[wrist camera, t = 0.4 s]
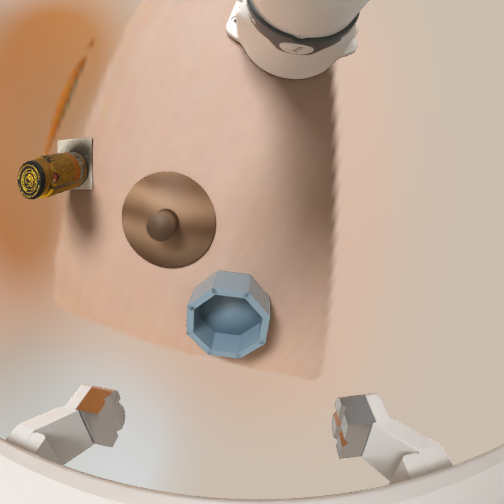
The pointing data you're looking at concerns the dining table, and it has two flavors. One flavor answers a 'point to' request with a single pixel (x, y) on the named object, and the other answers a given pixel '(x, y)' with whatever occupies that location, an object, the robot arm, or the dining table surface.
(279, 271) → the dining table surface
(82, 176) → the condiment
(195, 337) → the bowl
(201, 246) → the lid
